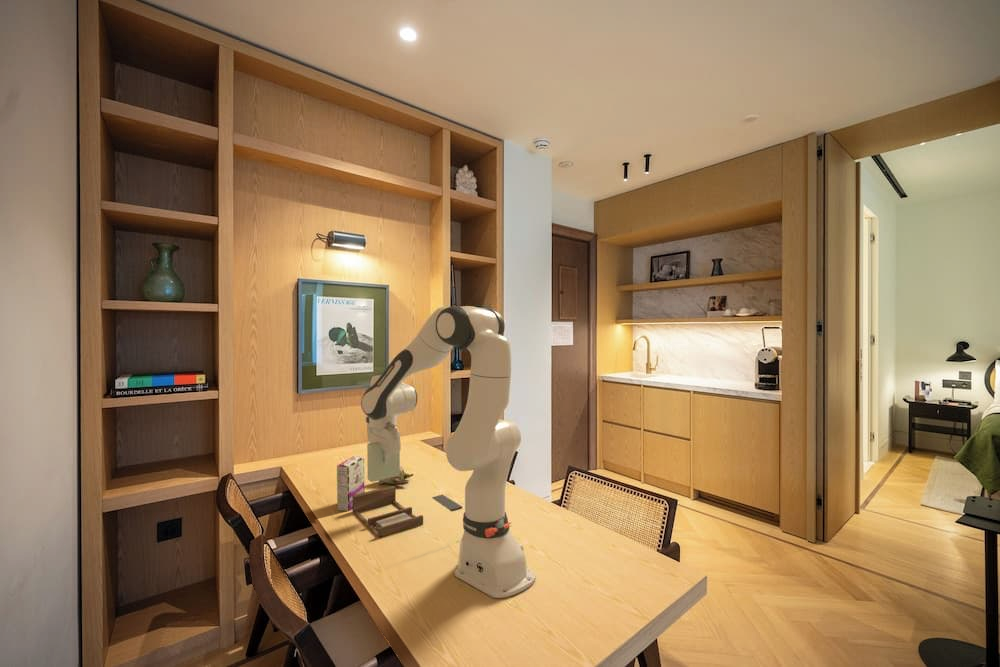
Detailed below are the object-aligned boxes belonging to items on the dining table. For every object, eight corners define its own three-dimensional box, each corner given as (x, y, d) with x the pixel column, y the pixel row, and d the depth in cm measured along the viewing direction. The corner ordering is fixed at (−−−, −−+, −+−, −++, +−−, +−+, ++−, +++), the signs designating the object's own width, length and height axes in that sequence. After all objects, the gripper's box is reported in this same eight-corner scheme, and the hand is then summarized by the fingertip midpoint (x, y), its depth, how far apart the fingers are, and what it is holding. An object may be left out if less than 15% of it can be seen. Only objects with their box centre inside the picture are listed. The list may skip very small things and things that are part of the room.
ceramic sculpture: (380, 458, 185) (414, 460, 184) (378, 478, 185) (413, 480, 185) (372, 466, 174) (409, 469, 174) (371, 487, 174) (407, 490, 174)
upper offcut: (412, 524, 139) (412, 518, 139) (384, 534, 132) (384, 527, 132) (404, 518, 143) (404, 512, 143) (376, 527, 137) (376, 521, 137)
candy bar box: (353, 498, 163) (353, 455, 163) (365, 499, 162) (365, 456, 162) (336, 510, 152) (336, 464, 152) (348, 512, 151) (348, 465, 151)
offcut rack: (423, 528, 139) (423, 506, 139) (378, 542, 130) (378, 519, 130) (393, 504, 158) (393, 485, 158) (352, 515, 149) (352, 495, 149)
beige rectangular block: (399, 475, 147) (399, 440, 147) (371, 481, 141) (371, 445, 141) (395, 472, 150) (395, 438, 150) (367, 479, 144) (367, 443, 144)
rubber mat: (462, 508, 155) (462, 506, 155) (422, 520, 145) (422, 518, 145) (442, 496, 166) (442, 494, 166) (404, 506, 156) (404, 504, 156)
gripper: (405, 424, 139) (405, 466, 139) (380, 414, 156) (381, 452, 156) (386, 426, 135) (387, 470, 136) (363, 416, 152) (363, 455, 152)
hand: (383, 460), depth 146 cm, fingers closed on beige rectangular block, 3 cm apart
